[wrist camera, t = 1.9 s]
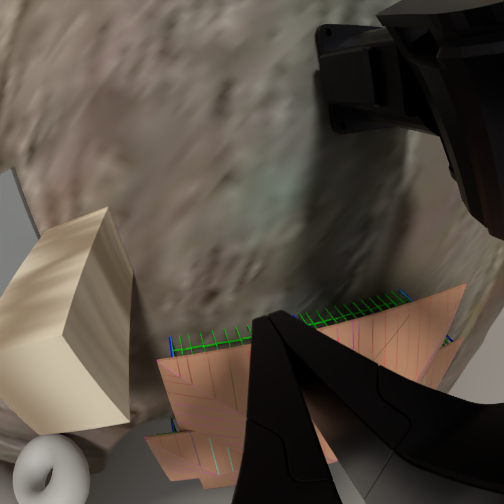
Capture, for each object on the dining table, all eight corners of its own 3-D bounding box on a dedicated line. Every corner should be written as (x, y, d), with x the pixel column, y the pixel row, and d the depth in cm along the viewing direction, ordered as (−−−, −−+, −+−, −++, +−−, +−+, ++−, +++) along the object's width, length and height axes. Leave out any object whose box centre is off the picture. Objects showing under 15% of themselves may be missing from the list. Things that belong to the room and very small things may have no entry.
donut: (72, 416, 21) (70, 519, 12) (97, 434, 22) (102, 529, 14) (12, 433, 20) (3, 515, 11) (35, 449, 22) (32, 528, 13)
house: (114, 330, 19) (109, 435, 12) (468, 259, 27) (523, 299, 20) (175, 469, 29) (188, 528, 22) (408, 398, 37) (438, 436, 30)
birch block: (108, 206, 15) (61, 335, 6) (133, 270, 17) (130, 422, 8) (45, 230, 14) (-32, 360, 6) (74, 289, 16) (39, 435, 8)
